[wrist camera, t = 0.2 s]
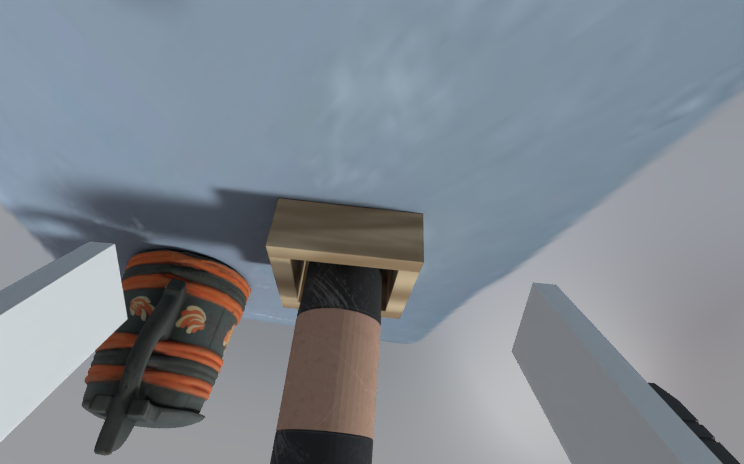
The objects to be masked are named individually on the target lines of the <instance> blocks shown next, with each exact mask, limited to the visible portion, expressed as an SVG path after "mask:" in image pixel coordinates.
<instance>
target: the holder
mask: <svg viewBox="0 0 744 464" xmlns="http://www.w3.org/2000/svg"><path fill="white" fill-rule="evenodd" d="M266 249H267V252H268V256H269V259H270V263H271V266H272V270H273V273H274V277H275V280H276V284H277V287H278V291H279V294H280V298H281V301H282V305H283V307H286V308H296V309H299V306H300V301H301V297H302V292H303V288H304V283H305V279H306V274H307V270H308V266H309V262H306V261H314V262H323V263H333V264H343V265H352V266H362V267H371V268H381V269H388V270H382V294H381V317H386V318H396V319H400V317H401V314H402V312H403V310H404V307H405V305H406V303H407V300H408V298H409V296H410V293H411V291H412V289H413V286H414V284H415V282H416V279H417V277H418V275H419V272H420V270H421V268H422V265H423V263H424V241H423V214H418V213H409V212H400V211H390V210H381V209H372V208H363V207H354V206H345V205H336V204H327V203H318V202H309V201H300V200H291V199H282V198H278V202H277V206H276V209H275V213H274V217H273V220H272V224H271V228H270V231H269V235H268V239H267V242H266Z"/></svg>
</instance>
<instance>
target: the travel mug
mask: <svg viewBox="0 0 744 464" xmlns="http://www.w3.org/2000/svg"><path fill="white" fill-rule="evenodd" d="M381 294H382V269H381V268H371V267H362V266H352V265H343V264H333V263H323V262H314V261H309V266H308V270H307V274H306V279H305V283H304V288H303V292H302V297H301V301H300V306H299V310H298V314H297V319H296V324H295V330H294V335H293V341H292V346H291V352H290V357H289V363H288V368H287V375H286V380H285V385H284V391H283V396H282V402H281V407H280V413H279V418H278V424H277V429H276V431H277V432H276V435H275V440H274V446H273V451H272V457H271V462H270V464H371V463H372V449H373V434H374V418H375V404H376V389H377V388H376V387H377V373H378V359H379V344H380V329H381V327H380V326H381Z"/></svg>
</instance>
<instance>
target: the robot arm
mask: <svg viewBox="0 0 744 464" xmlns="http://www.w3.org/2000/svg"><path fill="white" fill-rule="evenodd" d="M127 319H128V318H127V312H126V306H125V300H124V294H123V288H122V283H121V277H120V271H119V265H118V259H117V253H116V247H115V244H113V243H102V242H91V241H89V242H87V243H85V244H83V245H82V246H80V247H78V248H76V249H74V250H73V251H71V252H69V253H67V254H65V255H64V256H62V257H60V258H58V259H57V260H55V261H53V262H51V263H49V264H48V265H46V266H44V267H43V268H41V269H39V270H37V271H35V272H33V273H32V274H30V275H28V276H26V277H24V278H23V279H21V280H19V281H17V282H15V283H14V284H12V285H10V286H8V287H6V288H5V289H3V290H1V291H0V442H1V441H2V440H3V439H4V438H5V437H6V436H7V435H8V434H9V433H10V432H11V431H12V430H13V429H14V428H15V427H16V426H17V425H18V424H20V423H21V422H22V421H23V420H24V419H25V418H26V417H27V416H28V415H29V414H30V413H31V412H32V411H33V410H34V409H35V408H36V407H37V406H38V405H39V404H40V403H41V402H42V401H43V400H44V399H45V398H46V397H47V396H48V395H49V394H51V392H53V391H54V390H55V389H56V388H57V387H58V386H59V385H60V384H61V383H62V382H63V381H64V380H65V379H66V378H67V377H68V376H69V375H70V374H71V373H72V372H73V371H74V370H75V369H76V368H77V367H78V366H79V365H81V364H82V363H83V362H84V361H85V360H86V359H87V358H88V357H89V356H90V355H91V354H92V353H93V352H94V351H95V350H96V349H97V348H98V347H99V346H100V345H101V344H102V343H103V342H104V341H105V340H106V339H107V338H108V337H109V336H110V335H112V334H113V333H114V332H115V331H116V330H117V329H118V328H119V327H120V326H121V325H122V324H123V323H124V322H125V321H126V320H127ZM512 353H513V355H514V356H515V358H516V360H517V362H518V364H519V366H520V368H521V369H522V371H523V373H524V375H525V377H526V379H527V381H528V383H529V385H530V386H531V388H532V390H533V392H534V394H535V396H536V398H537V400H538V401H539V403H540V405H541V407H542V409H543V411H544V413H545V415H546V416H547V418H548V420H549V422H550V424H551V426H552V428H553V430H554V432H555V433H556V435H557V437H558V439H559V441H560V443H561V445H562V446H563V448H564V450H565V452H566V454H567V456H568V458H569V460H570V462H571V463H572V464H740V463H739V462H738V461H737V460H736V459H735V458H734V457H733V456H732V455H731V454H730V453H729V452H728V451H727V450H726V449H725V448H724V447H723V445H721V444H720V443H718V442H716V441H715V437H714V436H713V435H712V434H711V433H710V432H709V431H708V430H707V429H706V428H705V427H704V426H703V425H699V423H698V420H697V419H696V418H695V417H694V416H693V415H692V414H691V413H690V412H689V411H688V410H687V409H686V408H685V407H684V406H683V405H682V404H681V403H680V402H679V401H678V400H677V399H676V398H674V397H673V396H671V395H670V394H669V393H667V392H666V391H664V390H663V389H662V388H660V387H659V386H657V385H656V384H655V383H647V382H646V381H645V380H644V379H643V378H642V377H641V375H639V373H638V372H637V371H636V370H635V369H634V368H633V367H632V366H631V365H630V364H629V363H628V362H627V360H626V359H625V358H624V357H623V356H622V355H621V354H620V353H619V352H618V351H617V350H616V349H615V348H614V346H613V345H612V344H611V343H610V342H609V341H608V340H607V339H606V338H605V337H604V336H603V335H602V334H601V332H600V331H599V330H598V329H597V328H596V327H595V326H594V325H593V324H592V323H591V322H590V321H589V320H588V318H586V316H585V315H584V314H583V313H582V312H581V311H580V310H579V309H578V308H577V307H576V306H575V305H574V303H573V302H572V301H571V300H570V299H569V298H568V297H567V296H566V295H565V294H564V293H563V292H562V291H561V290H560V289H559V287H558V286H557V285H553V284H542V283H533V285H532V287H531V291H530V294H529V297H528V301H527V304H526V307H525V310H524V313H523V317H522V320H521V323H520V326H519V329H518V333H517V336H516V339H515V343H514V345H513V349H512Z"/></svg>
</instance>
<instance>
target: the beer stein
mask: <svg viewBox="0 0 744 464" xmlns="http://www.w3.org/2000/svg"><path fill="white" fill-rule="evenodd" d="M121 283H122V288H123V294H124V300H125V306H126V312H127V318H128V319H127V320H126V321H125V322H124V323H123V324H122V325H121V326H120V327H119V328H118V329H117V330H116V331H115V332H114V333H113V334H112V335H110V336H109V337H108V338H107V339H106V340H105V341H104V342H103V343H102V344H101V345H100V346H99V347H98V348H97V349H96V350H95V352H96V354H95V356H94V360H93V361H92V363H91V368H90V369H89V371H88V376H87V377H86V378H85V383H86V384H87V388H86V391H85V394H84V397H83V402H82V406H83V408H85V409H86V410H87V411H89V412H90V413H92V414H94V415H95V416H97V417H99V418H102V419H104V420H105V422H104V425H103V427H102V429H101V432H100V434H99V437H98V440H97V442H96V445H95V449H94V452H95V453H96V454H100V455H109V454H111V453H112V452H113V451H115V450H117V449H119V448H120V447H121V446H122V444H123V443H124V442H125V441H126V439H127V438H128V436H129V434H130V432H131V431H132V429H133V427H134V426H140V427H150V428H176V427H184V426H188V425H192V424H195V423H197V422H200V421H201V420H203V419H204V418H205V416H203V415H201V414H199V413H200V411H201V408H202V406H203V403H204V402H205V401H206V400H207V399H208V398H209V394H210V393H211V391H212V387H213V385H214V384H215V380H216V379H217V377H218V373H219V372H220V368H221V367H222V365H223V360H222V357H223V355H224V352H225V350H226V347H227V345H228V342H229V340H230V337H231V335H232V332H233V330H234V327H235V326H236V325H237V324H238V323H239V322H240V318H241V317H242V315H243V312H244V309H245V305H246V302H247V299H248V297H249V295H250V292H251V289H250V286H249V285H248V282H247V281H246V280H245V279H244V278H243V277H242V276H241V275H240V274H239V273H238V272H236V271H235V270H233V269H232V268H230V267H228V266H226V265H224V264H222V263H220V262H217V261H215V260H212V259H209V258H206V257H202V256H198V255H195V254H191V253H189V252H178V251H177V252H176V251H171V250H168V249H167V250H166V249H165V250H164V249H162V250H153V251H143V252H140V253H138V254H137V255H135V256H133V257H132V258H131V259H130V260H129V261H128V263H127V267H126V270H125V273H124V275H123V278H122V281H121Z"/></svg>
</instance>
